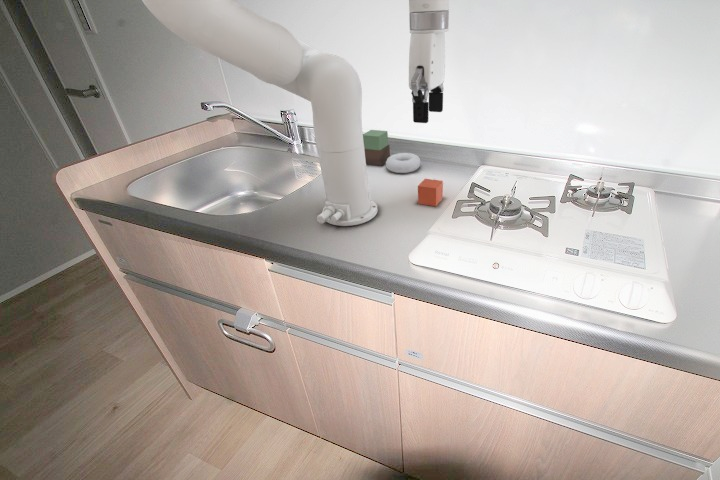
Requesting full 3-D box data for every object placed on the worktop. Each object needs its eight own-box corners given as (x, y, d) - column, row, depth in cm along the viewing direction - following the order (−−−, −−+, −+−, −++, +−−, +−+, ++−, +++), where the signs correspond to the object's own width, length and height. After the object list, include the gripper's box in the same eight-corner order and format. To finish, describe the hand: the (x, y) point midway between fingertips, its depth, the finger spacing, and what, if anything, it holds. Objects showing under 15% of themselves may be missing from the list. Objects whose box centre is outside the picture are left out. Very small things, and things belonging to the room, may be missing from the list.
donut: (392, 161, 110) (381, 173, 102) (391, 150, 108) (380, 161, 100) (424, 163, 107) (415, 176, 99) (424, 152, 105) (415, 163, 97)
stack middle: (379, 150, 104) (378, 136, 102) (363, 148, 107) (361, 134, 104) (388, 144, 108) (387, 131, 106) (372, 143, 111) (371, 129, 108)
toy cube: (436, 206, 84) (436, 188, 81) (418, 203, 86) (417, 185, 83) (442, 198, 87) (442, 180, 85) (425, 195, 89) (425, 178, 86)
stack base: (381, 166, 107) (380, 151, 104) (363, 164, 109) (362, 149, 106) (390, 159, 111) (389, 144, 109) (373, 157, 113) (371, 142, 111)
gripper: (425, 21, 78) (425, 107, 87) (393, 26, 65) (397, 126, 75) (460, 20, 75) (456, 108, 85) (432, 25, 62) (431, 128, 72)
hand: (428, 116), depth 80 cm, fingers open, 9 cm apart
